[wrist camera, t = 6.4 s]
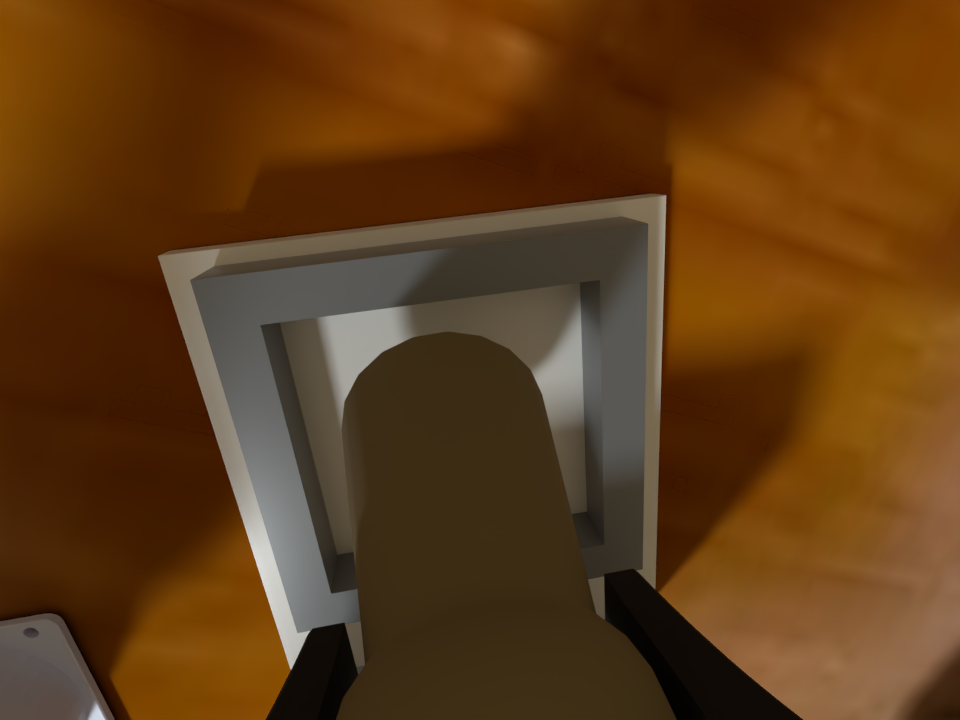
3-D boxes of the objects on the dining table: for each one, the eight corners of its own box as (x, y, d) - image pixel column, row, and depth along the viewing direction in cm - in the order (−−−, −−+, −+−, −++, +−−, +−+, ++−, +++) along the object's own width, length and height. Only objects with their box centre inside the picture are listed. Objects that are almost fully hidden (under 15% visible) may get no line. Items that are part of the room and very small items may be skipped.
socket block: (302, 674, 24) (240, 1001, 15) (171, 250, 17) (-106, 363, 8) (645, 609, 25) (784, 868, 16) (652, 193, 18) (906, 231, 9)
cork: (374, 304, 14) (342, 789, 4) (576, 363, 16) (883, 802, 6) (318, 484, 16) (214, 1074, 6) (501, 518, 18) (636, 1023, 8)
